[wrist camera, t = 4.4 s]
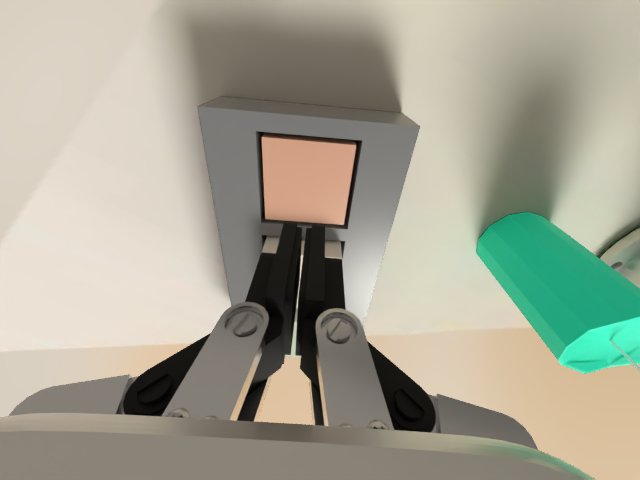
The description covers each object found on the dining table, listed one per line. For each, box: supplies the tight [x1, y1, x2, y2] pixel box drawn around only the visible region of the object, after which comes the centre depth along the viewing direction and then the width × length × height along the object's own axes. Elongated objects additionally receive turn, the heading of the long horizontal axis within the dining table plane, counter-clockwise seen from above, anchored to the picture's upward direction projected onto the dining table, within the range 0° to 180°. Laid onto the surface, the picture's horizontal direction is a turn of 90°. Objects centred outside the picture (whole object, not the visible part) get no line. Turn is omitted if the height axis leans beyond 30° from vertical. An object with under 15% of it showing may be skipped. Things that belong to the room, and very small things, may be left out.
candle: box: [477, 212, 640, 374], centre depth 19 cm, size 6×6×12 cm
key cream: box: [262, 235, 342, 308], centre depth 20 cm, size 5×5×3 cm
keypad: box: [198, 96, 420, 326], centre depth 22 cm, size 12×22×4 cm, turn 175°
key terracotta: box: [262, 132, 356, 225], centre depth 18 cm, size 5×5×3 cm
